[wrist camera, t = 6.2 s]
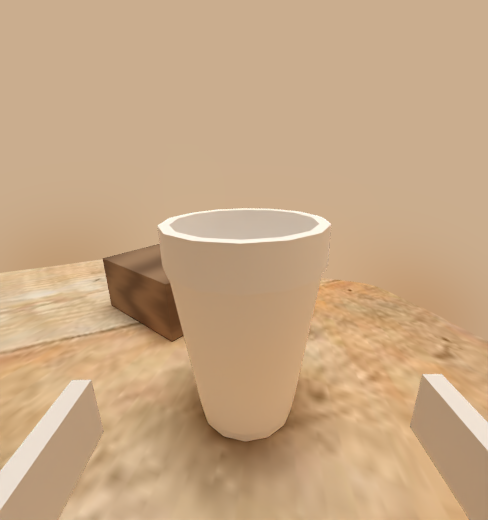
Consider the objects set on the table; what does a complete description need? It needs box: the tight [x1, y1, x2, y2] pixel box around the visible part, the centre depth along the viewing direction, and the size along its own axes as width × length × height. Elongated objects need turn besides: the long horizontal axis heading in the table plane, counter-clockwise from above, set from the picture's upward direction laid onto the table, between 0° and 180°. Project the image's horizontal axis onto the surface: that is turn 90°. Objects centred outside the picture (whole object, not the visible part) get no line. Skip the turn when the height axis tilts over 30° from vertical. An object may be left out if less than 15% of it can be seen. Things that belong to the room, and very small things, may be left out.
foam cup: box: [158, 208, 331, 442], centre depth 18 cm, size 10×9×13 cm
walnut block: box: [103, 244, 183, 341], centre depth 34 cm, size 12×12×6 cm
